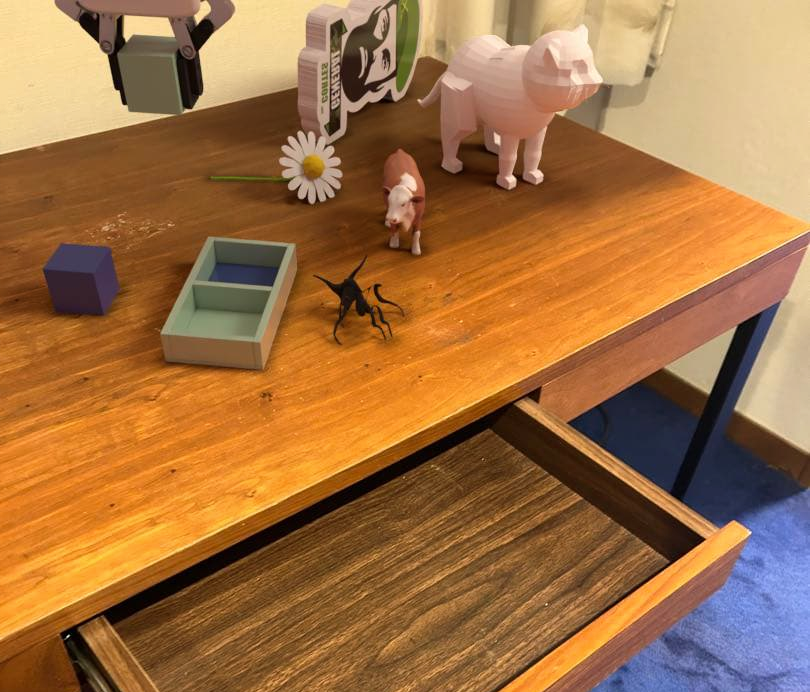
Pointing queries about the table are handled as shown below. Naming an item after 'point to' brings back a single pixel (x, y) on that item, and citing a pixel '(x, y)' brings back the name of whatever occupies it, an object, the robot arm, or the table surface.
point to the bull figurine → (403, 197)
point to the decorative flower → (306, 168)
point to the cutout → (355, 60)
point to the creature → (357, 299)
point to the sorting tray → (231, 304)
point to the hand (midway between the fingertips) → (161, 99)
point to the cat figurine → (512, 95)
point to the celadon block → (151, 74)
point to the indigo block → (81, 279)
